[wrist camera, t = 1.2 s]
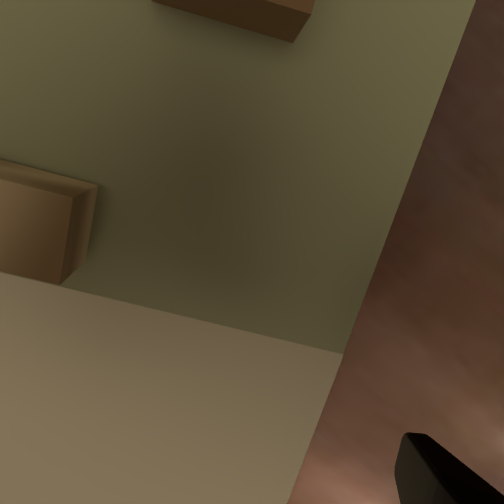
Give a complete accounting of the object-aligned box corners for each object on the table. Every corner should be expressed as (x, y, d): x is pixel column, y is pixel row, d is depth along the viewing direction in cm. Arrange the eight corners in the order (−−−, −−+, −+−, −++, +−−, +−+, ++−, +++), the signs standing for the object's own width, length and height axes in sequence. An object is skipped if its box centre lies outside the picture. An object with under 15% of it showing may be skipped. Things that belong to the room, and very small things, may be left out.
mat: (341, 349, 22) (343, 354, 21) (221, 667, 29) (220, 677, 28) (-14, 262, 20) (-20, 265, 20) (-48, 619, 27) (-54, 628, 27)
